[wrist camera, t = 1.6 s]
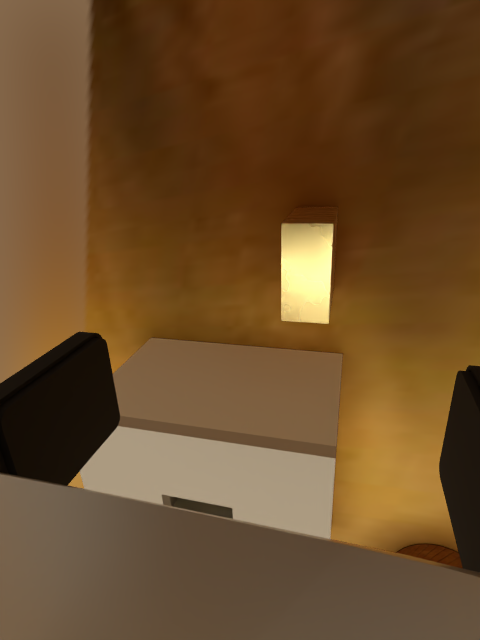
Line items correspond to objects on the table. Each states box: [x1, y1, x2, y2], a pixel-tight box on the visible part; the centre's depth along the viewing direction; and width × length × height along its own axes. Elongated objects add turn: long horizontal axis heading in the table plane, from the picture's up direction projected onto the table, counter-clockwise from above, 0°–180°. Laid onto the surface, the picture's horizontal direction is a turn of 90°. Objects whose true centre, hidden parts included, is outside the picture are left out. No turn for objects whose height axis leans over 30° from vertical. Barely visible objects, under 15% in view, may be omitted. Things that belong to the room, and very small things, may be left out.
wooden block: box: [281, 207, 338, 324], centre depth 22 cm, size 5×2×6 cm, turn 2°
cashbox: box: [80, 338, 343, 539], centre depth 27 cm, size 16×14×10 cm
